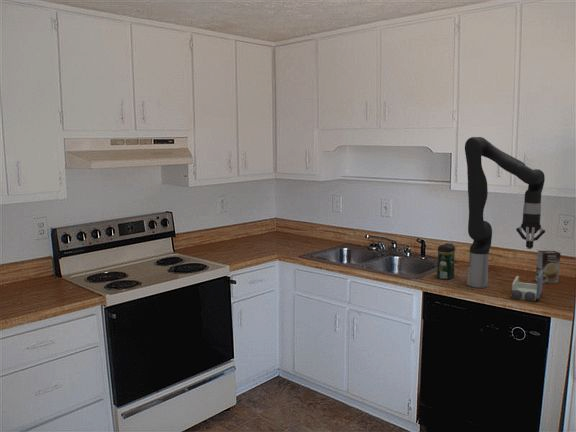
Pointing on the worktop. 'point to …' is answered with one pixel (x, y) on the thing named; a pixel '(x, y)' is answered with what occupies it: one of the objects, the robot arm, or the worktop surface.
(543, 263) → the coffee box
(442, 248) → the coffee jar
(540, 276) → the tailgate
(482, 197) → the robot arm
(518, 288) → the cart
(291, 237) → the worktop surface
